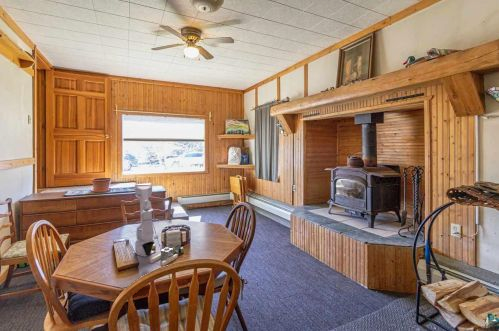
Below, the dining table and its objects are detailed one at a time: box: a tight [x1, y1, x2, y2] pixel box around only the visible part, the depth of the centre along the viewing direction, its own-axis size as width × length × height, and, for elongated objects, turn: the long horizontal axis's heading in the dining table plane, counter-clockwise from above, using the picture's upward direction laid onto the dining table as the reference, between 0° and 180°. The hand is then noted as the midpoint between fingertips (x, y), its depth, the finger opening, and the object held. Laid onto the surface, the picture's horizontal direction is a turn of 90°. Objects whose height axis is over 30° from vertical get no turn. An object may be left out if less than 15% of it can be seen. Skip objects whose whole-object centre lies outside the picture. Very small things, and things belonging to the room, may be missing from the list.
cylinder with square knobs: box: [173, 245, 185, 256], centre depth 164 cm, size 6×8×4 cm
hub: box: [160, 246, 173, 262], centre depth 156 cm, size 5×5×6 cm
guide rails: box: [149, 253, 179, 267], centre depth 155 cm, size 10×12×2 cm
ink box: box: [165, 229, 182, 248], centre depth 172 cm, size 9×5×12 cm, turn 117°
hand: (147, 254), depth 147 cm, fingers closed
